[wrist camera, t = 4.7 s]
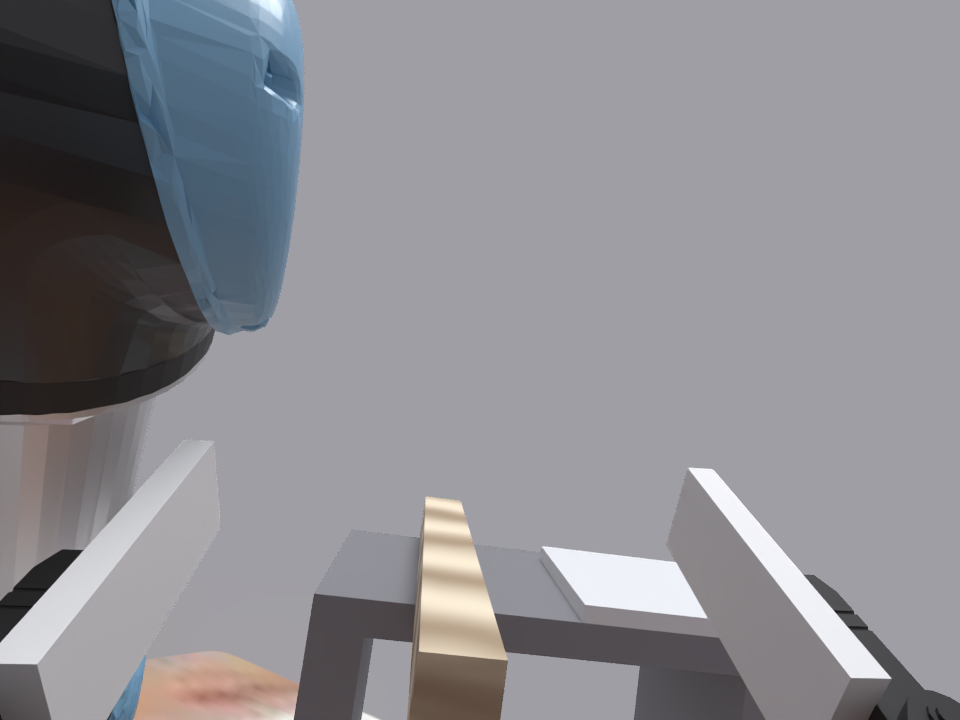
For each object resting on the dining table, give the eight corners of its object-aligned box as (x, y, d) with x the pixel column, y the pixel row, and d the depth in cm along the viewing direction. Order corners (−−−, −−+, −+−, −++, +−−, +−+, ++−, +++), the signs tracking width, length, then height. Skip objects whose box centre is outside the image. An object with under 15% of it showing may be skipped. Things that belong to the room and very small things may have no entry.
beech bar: (495, 754, 18) (507, 660, 18) (405, 746, 17) (419, 651, 18) (455, 536, 46) (460, 500, 46) (420, 531, 45) (425, 496, 46)
